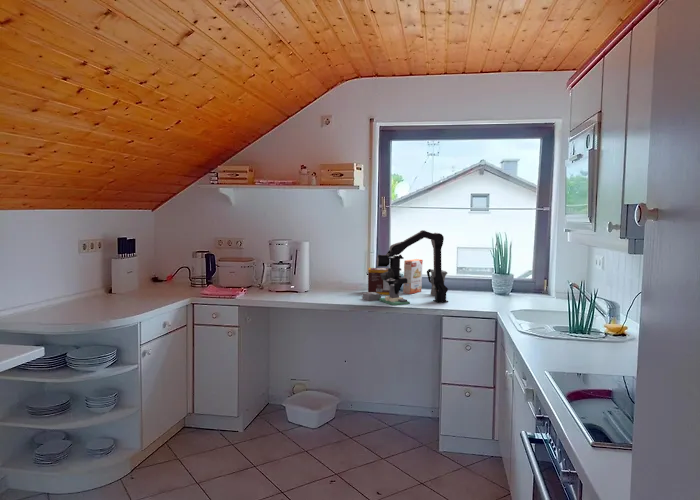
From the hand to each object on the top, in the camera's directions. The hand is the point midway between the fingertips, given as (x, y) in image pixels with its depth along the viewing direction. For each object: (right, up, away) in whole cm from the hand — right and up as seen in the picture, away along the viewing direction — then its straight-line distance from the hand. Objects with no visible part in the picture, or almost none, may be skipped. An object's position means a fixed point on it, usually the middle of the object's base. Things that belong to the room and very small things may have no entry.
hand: (394, 293), depth 288 cm
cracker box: (+15, -2, +33) cm, 37 cm away
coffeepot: (+28, -3, +26) cm, 39 cm away
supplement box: (-6, -3, +29) cm, 29 cm away
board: (0, -5, 0) cm, 5 cm away
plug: (0, -2, 0) cm, 2 cm away
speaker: (-13, -4, +8) cm, 15 cm away
